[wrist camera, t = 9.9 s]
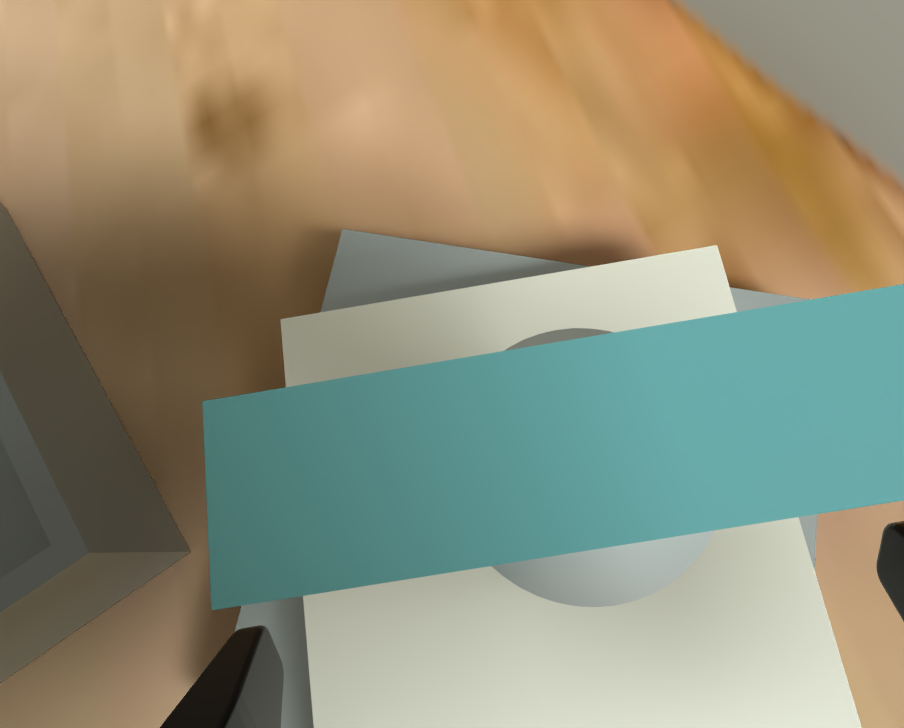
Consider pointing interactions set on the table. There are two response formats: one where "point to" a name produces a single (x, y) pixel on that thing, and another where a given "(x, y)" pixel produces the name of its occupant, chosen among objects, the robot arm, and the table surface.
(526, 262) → the pad
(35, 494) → the housing
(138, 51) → the table surface
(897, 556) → the robot arm
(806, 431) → the cover
